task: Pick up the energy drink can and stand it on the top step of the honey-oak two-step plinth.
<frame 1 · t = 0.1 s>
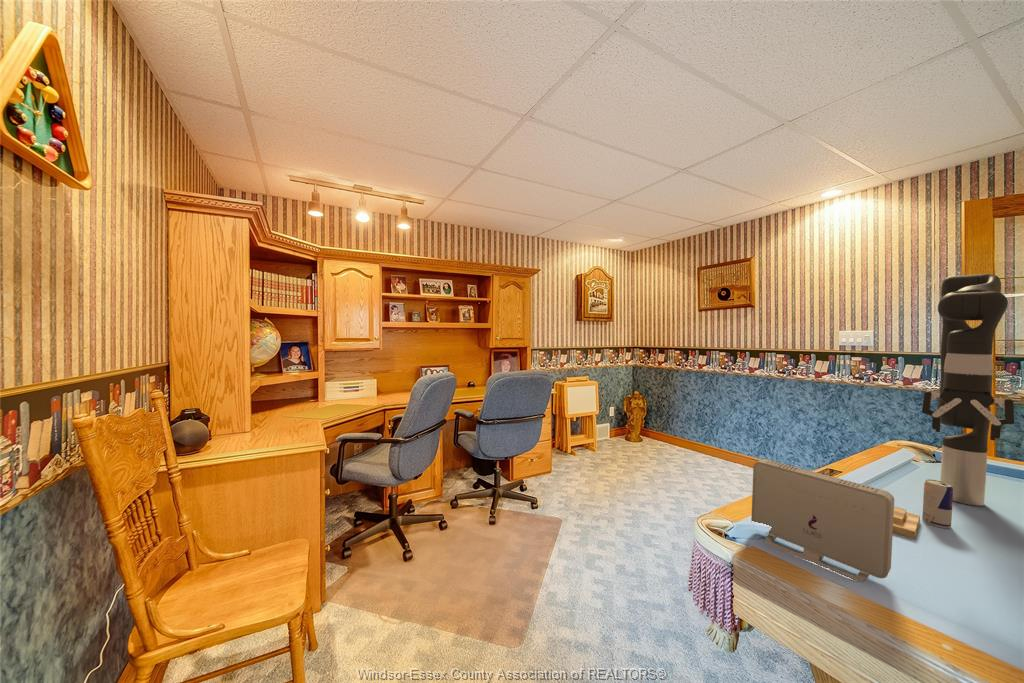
hand: (964, 435, 90), 29 cm above the table, fingers open, 8 cm apart
network device: (813, 555, 87), on the table
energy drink: (936, 524, 102), on the table
plinth: (881, 519, 104), on the table
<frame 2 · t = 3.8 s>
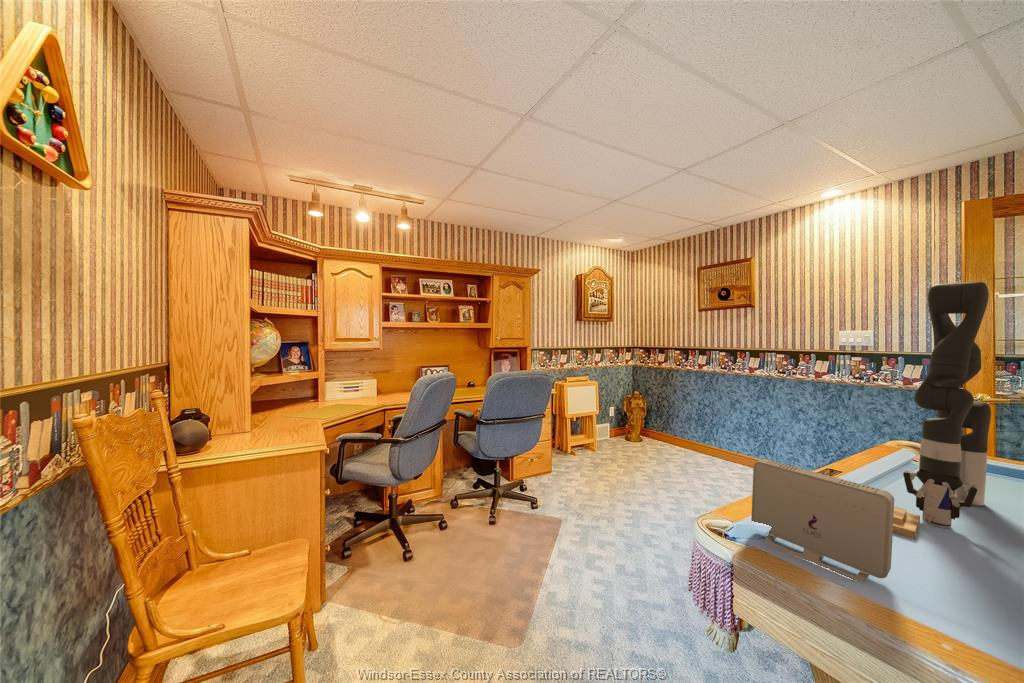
hand: (936, 513, 102), 3 cm above the table, fingers closed on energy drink, 5 cm apart
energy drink: (936, 524, 102), on the table, touching gripper
everything else where it was.
when the fingers open (7 cm above the table, at t = 9.3 s): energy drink stays where it is, resting on plinth.
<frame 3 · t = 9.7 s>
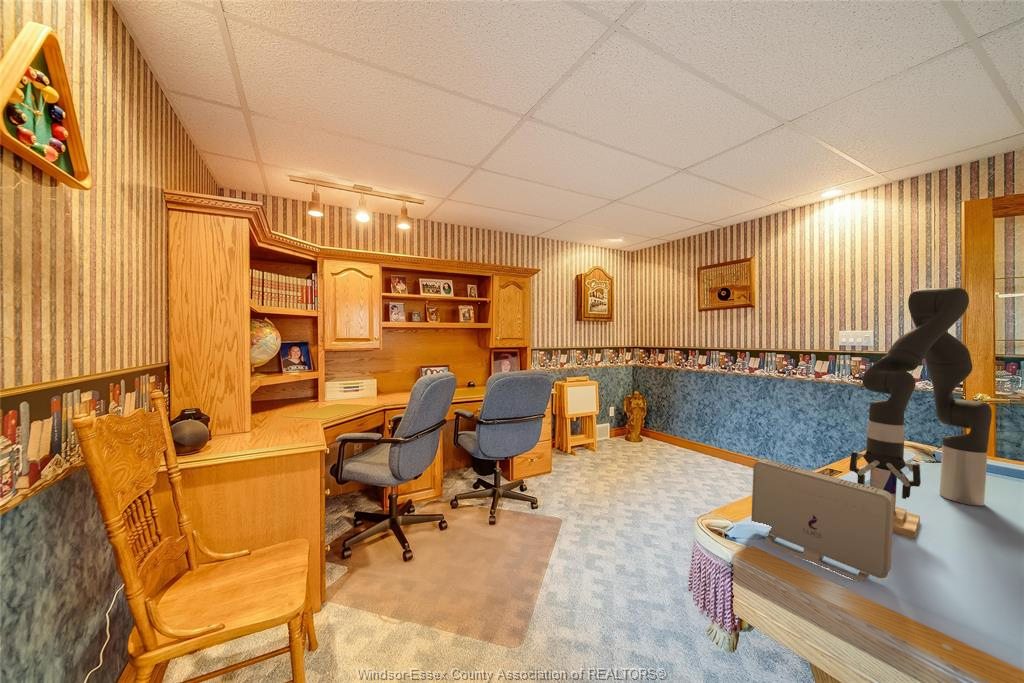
hand: (882, 492, 104), 8 cm above the table, fingers open, 8 cm apart
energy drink: (881, 508, 104), point 3 cm above the table, touching plinth
everything else where it was.
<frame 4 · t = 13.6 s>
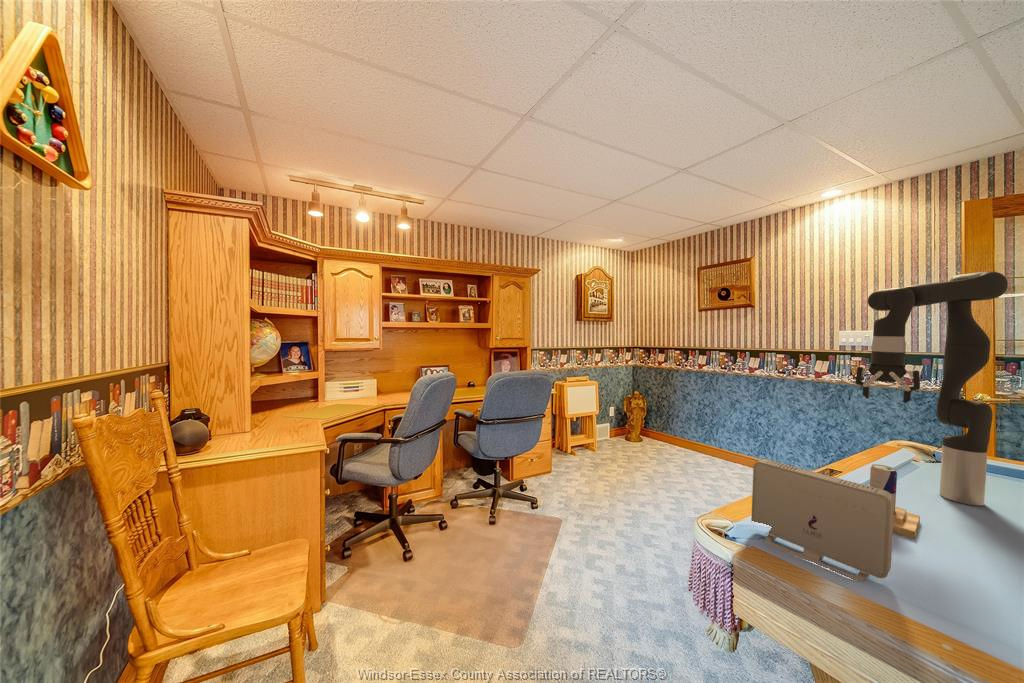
hand: (885, 400, 115), 33 cm above the table, fingers open, 8 cm apart
nothing on the table moved.
at the end: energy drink inside the target area on the plinth (0.1 cm from its centre), point 3.3 cm above the plinth's base; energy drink tilted 0°; the gripper is holding nothing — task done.
